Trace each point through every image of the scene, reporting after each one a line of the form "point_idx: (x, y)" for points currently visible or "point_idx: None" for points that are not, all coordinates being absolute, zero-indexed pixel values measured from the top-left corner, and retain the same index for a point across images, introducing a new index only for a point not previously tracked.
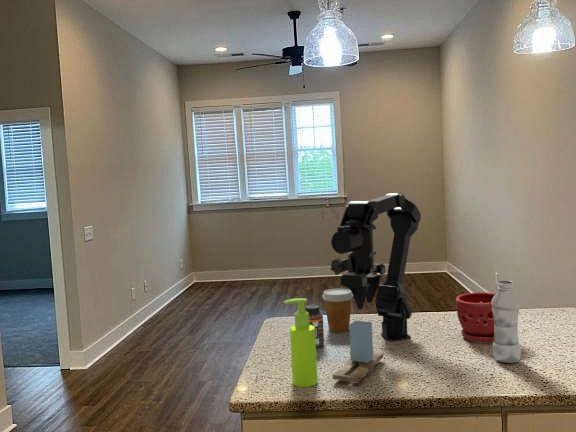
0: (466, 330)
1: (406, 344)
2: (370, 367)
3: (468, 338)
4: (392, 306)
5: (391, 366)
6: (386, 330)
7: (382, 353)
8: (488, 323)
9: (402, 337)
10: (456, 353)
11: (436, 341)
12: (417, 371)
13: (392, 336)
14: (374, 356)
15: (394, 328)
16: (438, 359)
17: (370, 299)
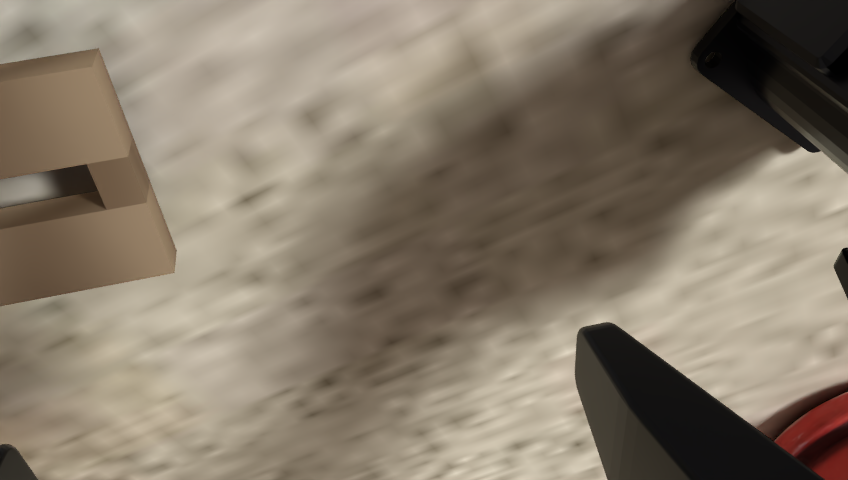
0: (827, 466)
1: (638, 186)
2: None
3: (780, 442)
4: None
5: (117, 317)
6: (774, 30)
7: (158, 274)
8: None
9: (765, 117)
10: (558, 455)
11: (751, 307)
12: (156, 450)
13: (753, 49)
14: (38, 260)
15: (801, 108)
16: (419, 439)
17: (602, 434)
